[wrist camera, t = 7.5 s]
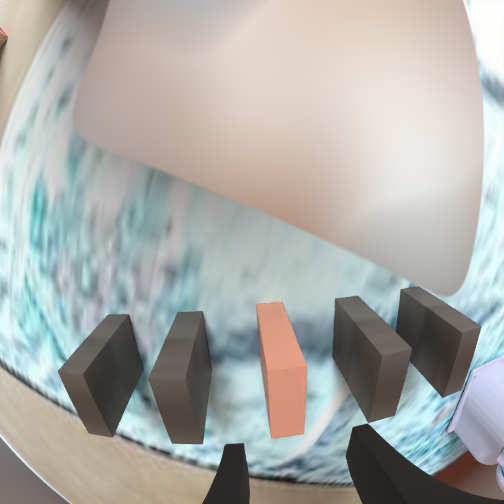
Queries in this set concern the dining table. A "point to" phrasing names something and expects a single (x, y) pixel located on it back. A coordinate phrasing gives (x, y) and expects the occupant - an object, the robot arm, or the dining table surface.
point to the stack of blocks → (2, 37)
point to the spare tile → (281, 371)
